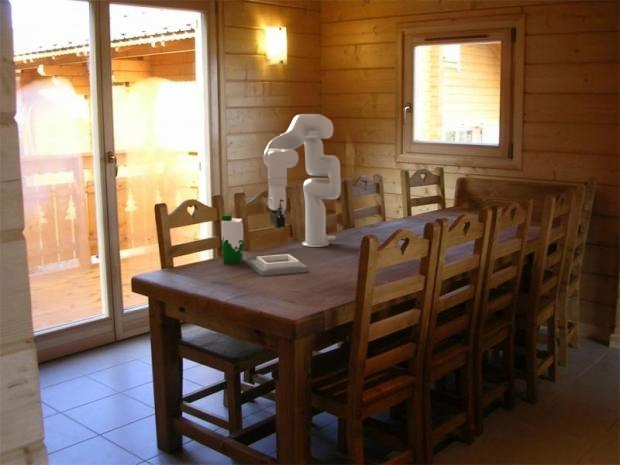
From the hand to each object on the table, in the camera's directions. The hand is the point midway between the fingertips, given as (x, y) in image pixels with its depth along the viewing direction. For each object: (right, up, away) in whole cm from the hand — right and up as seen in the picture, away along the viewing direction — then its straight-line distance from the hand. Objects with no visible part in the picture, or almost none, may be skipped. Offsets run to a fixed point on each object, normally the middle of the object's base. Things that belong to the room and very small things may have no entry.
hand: (278, 225), depth 292 cm
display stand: (0, -18, +3) cm, 18 cm away
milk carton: (-20, -16, +16) cm, 30 cm away
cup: (0, -2, 0) cm, 2 cm away
